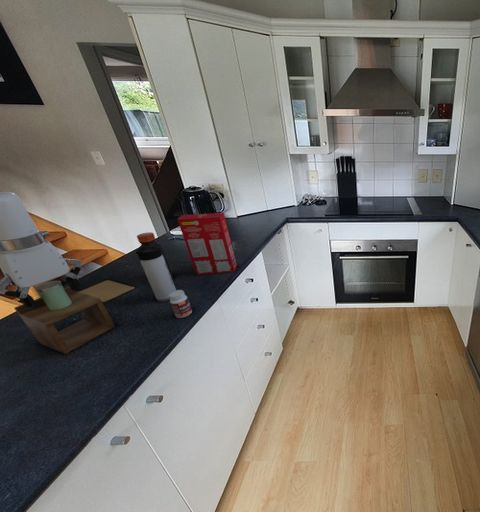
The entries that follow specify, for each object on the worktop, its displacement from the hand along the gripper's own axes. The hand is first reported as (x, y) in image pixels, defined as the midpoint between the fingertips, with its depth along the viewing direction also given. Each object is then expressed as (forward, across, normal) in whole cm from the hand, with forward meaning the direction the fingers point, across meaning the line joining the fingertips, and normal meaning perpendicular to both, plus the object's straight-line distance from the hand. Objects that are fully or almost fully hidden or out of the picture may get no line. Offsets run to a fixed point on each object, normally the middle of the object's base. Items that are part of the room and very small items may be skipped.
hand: (56, 298), depth 76 cm
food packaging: (+14, -44, +6) cm, 47 cm away
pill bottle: (+14, -18, +20) cm, 30 cm away
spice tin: (+3, 0, 0) cm, 3 cm away
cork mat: (+13, -18, -20) cm, 30 cm away
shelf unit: (+14, 0, 0) cm, 14 cm away
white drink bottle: (+14, -31, -8) cm, 35 cm away
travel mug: (+14, -23, +5) cm, 27 cm away
